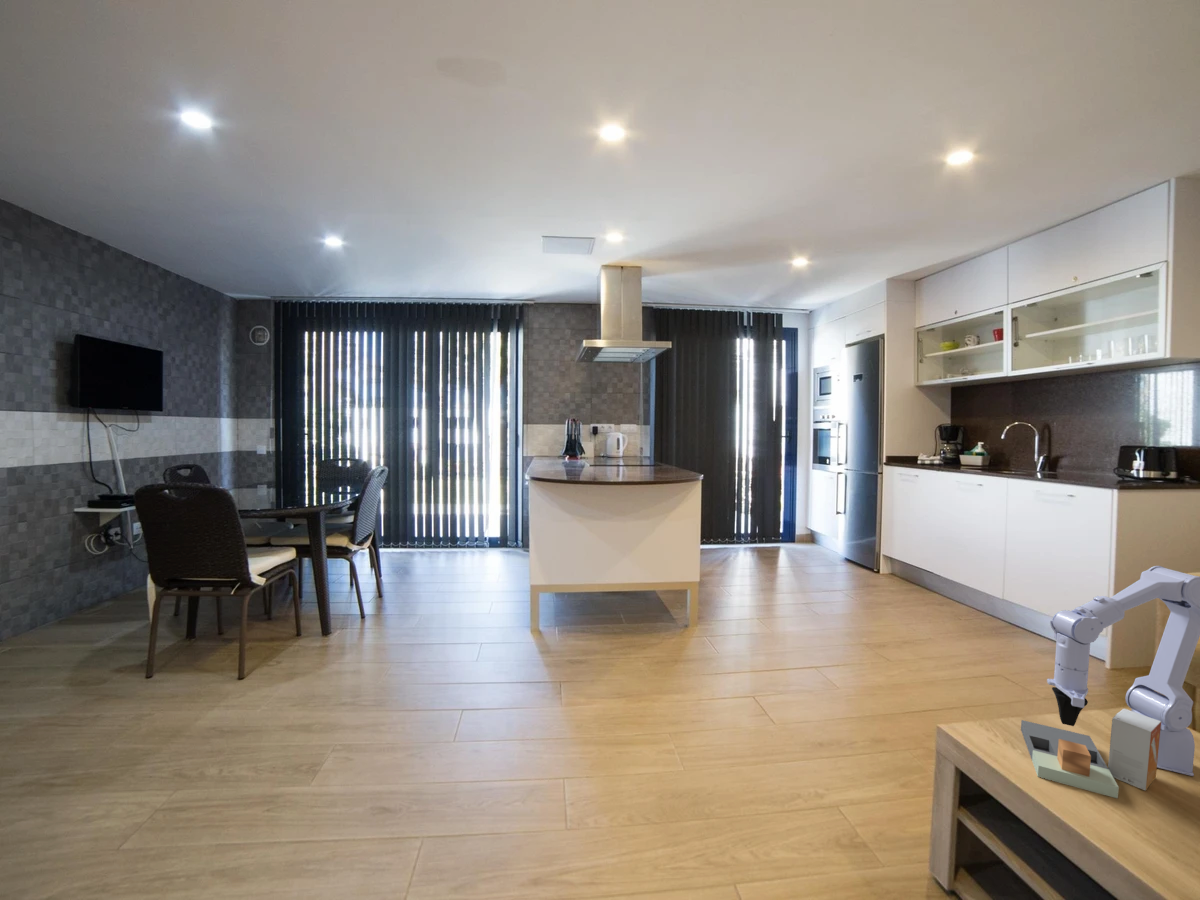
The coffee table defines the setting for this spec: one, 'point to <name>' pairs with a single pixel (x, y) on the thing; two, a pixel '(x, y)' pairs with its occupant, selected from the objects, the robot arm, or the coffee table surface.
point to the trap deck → (1047, 765)
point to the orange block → (1074, 757)
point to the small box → (1134, 748)
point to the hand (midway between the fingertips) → (1067, 723)
